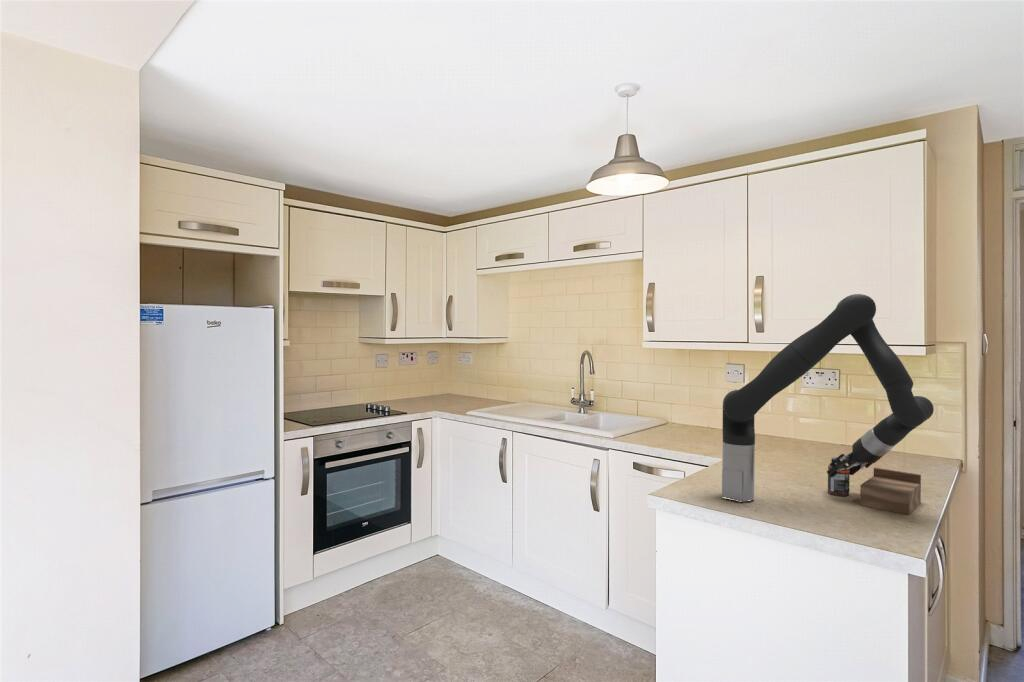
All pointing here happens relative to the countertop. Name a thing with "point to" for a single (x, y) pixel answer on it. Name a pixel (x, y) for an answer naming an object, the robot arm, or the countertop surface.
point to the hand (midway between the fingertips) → (839, 473)
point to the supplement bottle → (839, 482)
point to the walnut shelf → (891, 491)
